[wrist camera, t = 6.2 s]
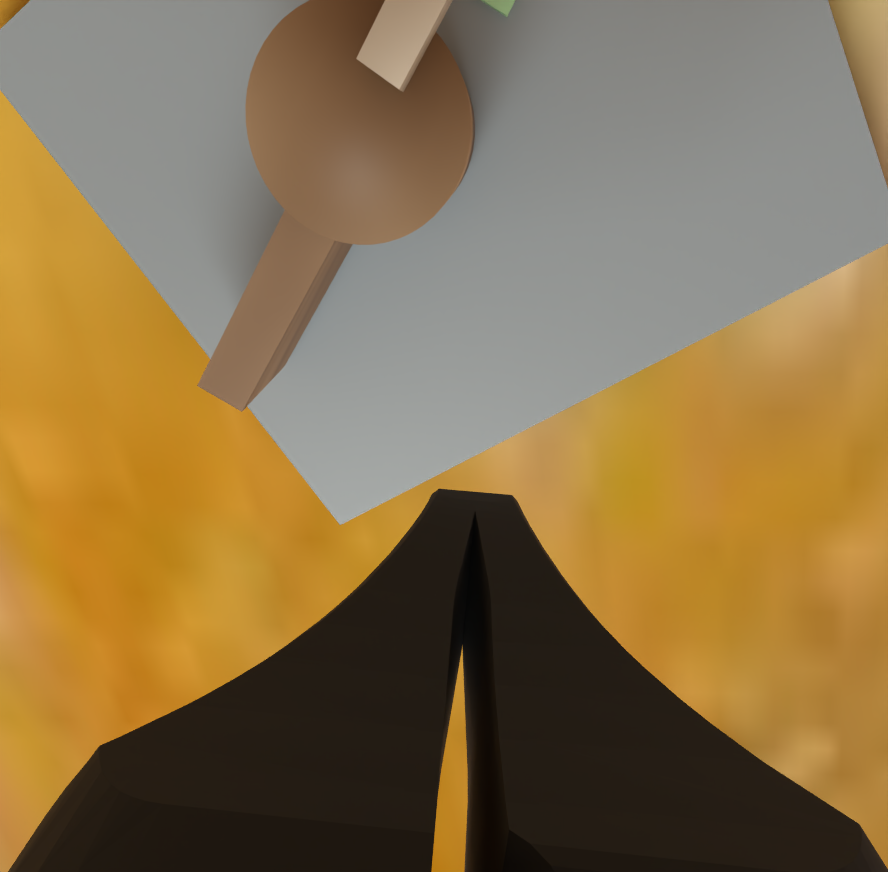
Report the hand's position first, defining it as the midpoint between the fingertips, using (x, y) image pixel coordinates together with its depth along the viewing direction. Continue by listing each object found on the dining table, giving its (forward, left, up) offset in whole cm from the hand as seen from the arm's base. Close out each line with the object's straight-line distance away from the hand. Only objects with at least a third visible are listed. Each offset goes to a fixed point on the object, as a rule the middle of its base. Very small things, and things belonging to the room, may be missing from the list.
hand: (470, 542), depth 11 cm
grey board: (-2, -6, -10) cm, 12 cm away
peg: (0, -6, -9) cm, 11 cm away
